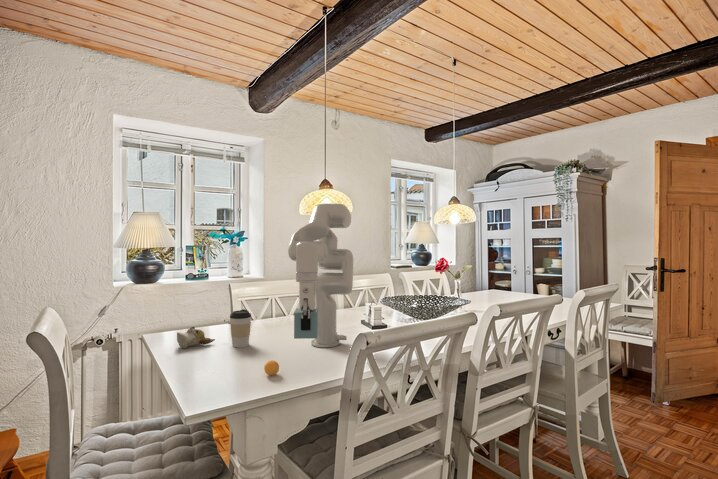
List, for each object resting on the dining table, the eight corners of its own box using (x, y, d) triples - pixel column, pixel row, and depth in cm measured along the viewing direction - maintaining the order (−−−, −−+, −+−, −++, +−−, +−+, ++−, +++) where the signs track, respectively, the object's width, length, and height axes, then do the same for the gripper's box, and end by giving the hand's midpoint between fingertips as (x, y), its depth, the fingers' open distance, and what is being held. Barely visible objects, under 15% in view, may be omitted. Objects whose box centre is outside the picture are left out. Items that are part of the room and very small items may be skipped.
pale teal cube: (317, 332, 143) (318, 308, 143) (316, 338, 136) (316, 312, 135) (296, 333, 143) (296, 308, 143) (294, 338, 135) (294, 312, 135)
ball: (279, 372, 140) (280, 358, 140) (278, 377, 135) (278, 362, 135) (265, 372, 139) (265, 358, 139) (263, 377, 134) (263, 363, 134)
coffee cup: (245, 348, 168) (245, 313, 168) (225, 347, 170) (225, 312, 170) (254, 342, 177) (254, 309, 177) (236, 341, 179) (236, 308, 179)
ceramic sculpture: (171, 326, 170) (204, 322, 182) (170, 347, 170) (202, 341, 181) (183, 330, 163) (216, 326, 175) (182, 352, 163) (215, 346, 175)
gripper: (316, 279, 131) (316, 333, 131) (318, 274, 148) (318, 322, 148) (293, 279, 130) (293, 333, 130) (298, 274, 148) (298, 322, 148)
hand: (306, 327), depth 139 cm, fingers closed on pale teal cube, 7 cm apart
